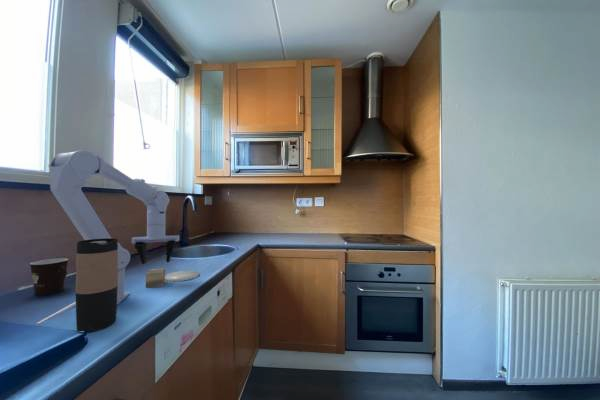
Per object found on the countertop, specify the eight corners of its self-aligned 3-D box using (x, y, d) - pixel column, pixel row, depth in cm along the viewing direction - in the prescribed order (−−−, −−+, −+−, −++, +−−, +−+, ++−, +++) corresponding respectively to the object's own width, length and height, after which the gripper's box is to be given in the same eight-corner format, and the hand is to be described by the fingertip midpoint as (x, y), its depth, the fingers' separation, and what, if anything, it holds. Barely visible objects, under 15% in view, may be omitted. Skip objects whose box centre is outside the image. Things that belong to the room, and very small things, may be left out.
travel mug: (88, 319, 60) (89, 238, 60) (123, 316, 62) (124, 237, 62) (66, 335, 52) (67, 243, 53) (106, 331, 54) (107, 242, 55)
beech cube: (162, 286, 84) (162, 272, 84) (145, 288, 83) (145, 273, 83) (165, 282, 89) (165, 268, 89) (149, 283, 88) (150, 269, 88)
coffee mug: (30, 292, 79) (30, 261, 79) (66, 285, 85) (67, 257, 85) (28, 302, 71) (29, 267, 71) (69, 294, 77) (69, 262, 77)
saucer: (197, 279, 91) (197, 277, 91) (161, 282, 88) (161, 280, 88) (200, 271, 103) (200, 269, 103) (168, 273, 99) (168, 271, 99)
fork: (30, 327, 58) (29, 319, 58) (93, 294, 78) (93, 288, 78) (44, 326, 58) (44, 318, 58) (104, 293, 78) (104, 288, 78)
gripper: (180, 223, 92) (180, 258, 92) (136, 224, 88) (136, 261, 88) (177, 224, 86) (177, 262, 85) (129, 225, 81) (129, 266, 81)
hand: (156, 262), depth 86 cm, fingers open, 7 cm apart
